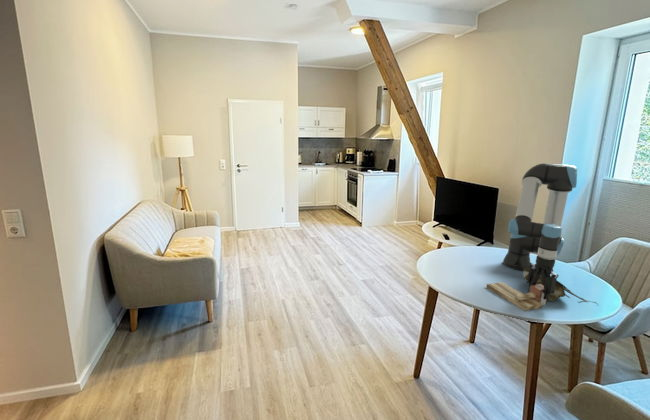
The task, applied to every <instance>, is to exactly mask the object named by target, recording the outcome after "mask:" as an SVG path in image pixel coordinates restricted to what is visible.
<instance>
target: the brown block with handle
mask: <svg viewBox="0 0 650 420" xmlns="http://www.w3.org/2000/svg"><path fill="white" fill-rule="evenodd" d="M529 289H530V291H529V292H526V293H523V294H518V295H515V299H517V300H518V301H520V300H524V299H530V298H532V299H534V300H536V301H538V302H539V303H540V300H541V295H542V292H544V286H543V285H541V284H536V285H531V287H530V286H529ZM547 301H548V300H546V303H545V305H546V304H547Z"/></svg>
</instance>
